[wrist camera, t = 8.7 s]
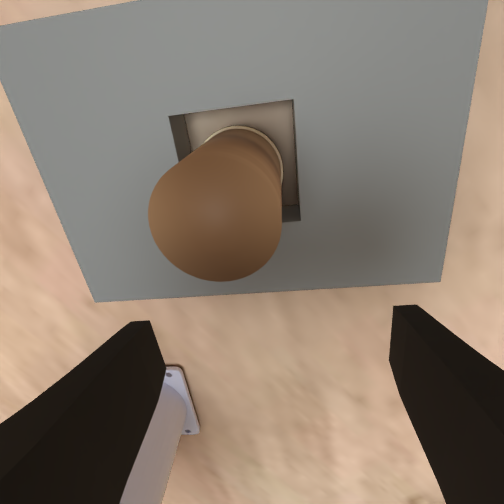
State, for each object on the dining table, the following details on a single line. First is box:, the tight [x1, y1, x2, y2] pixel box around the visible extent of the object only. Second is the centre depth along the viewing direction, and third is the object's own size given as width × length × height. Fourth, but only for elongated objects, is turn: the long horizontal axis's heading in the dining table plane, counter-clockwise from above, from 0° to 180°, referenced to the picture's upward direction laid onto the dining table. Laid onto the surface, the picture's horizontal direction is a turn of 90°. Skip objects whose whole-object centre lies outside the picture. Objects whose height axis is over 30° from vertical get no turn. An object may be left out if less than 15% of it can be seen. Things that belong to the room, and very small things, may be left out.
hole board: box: [0, 0, 488, 302], centre depth 16 cm, size 20×14×2 cm
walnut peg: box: [148, 125, 283, 282], centre depth 13 cm, size 4×4×9 cm
